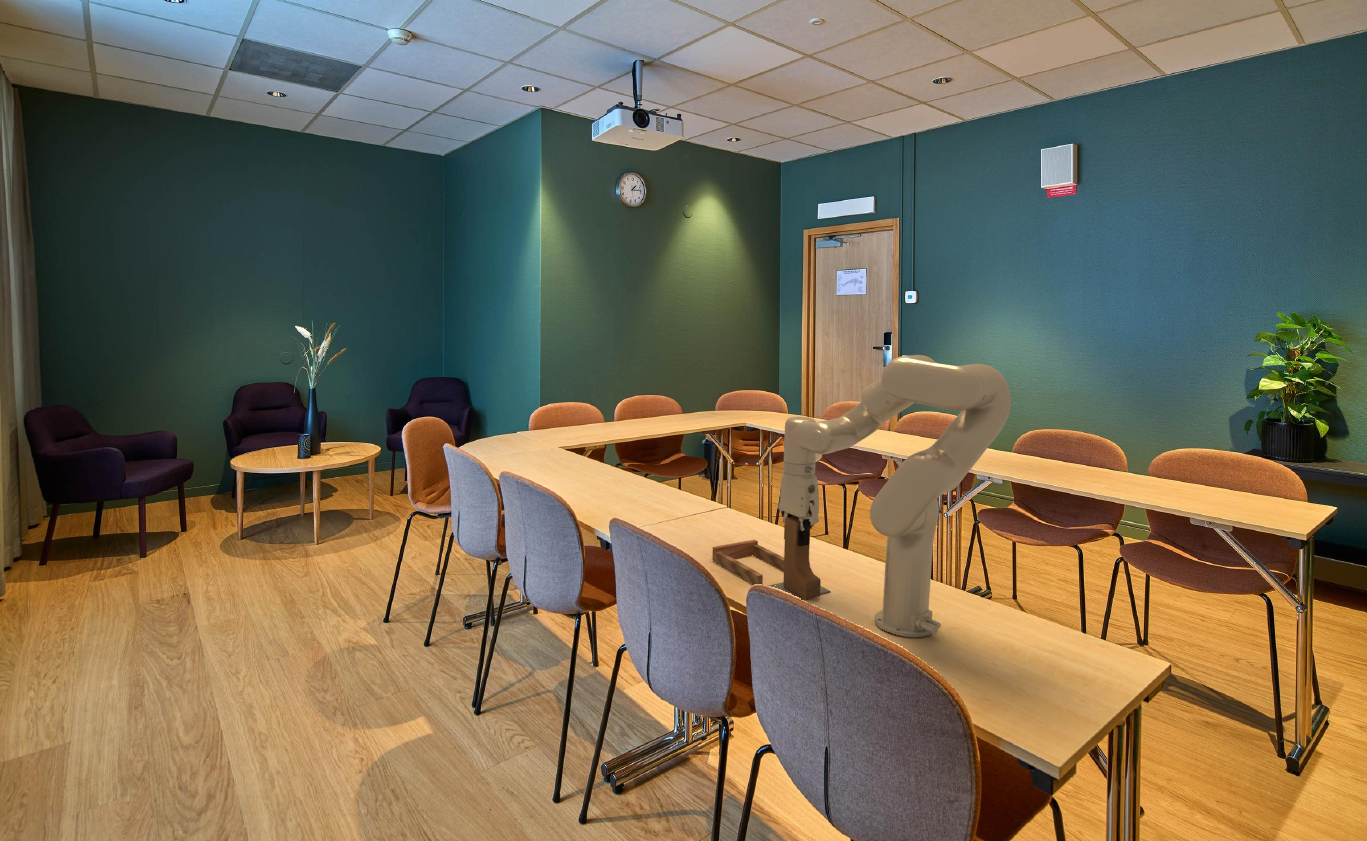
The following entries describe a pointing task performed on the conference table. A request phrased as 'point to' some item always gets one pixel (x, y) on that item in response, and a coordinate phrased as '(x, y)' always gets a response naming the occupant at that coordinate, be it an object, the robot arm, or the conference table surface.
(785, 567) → the wooden block
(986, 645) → the conference table surface
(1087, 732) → the conference table surface
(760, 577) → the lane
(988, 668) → the conference table surface
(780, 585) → the mat
